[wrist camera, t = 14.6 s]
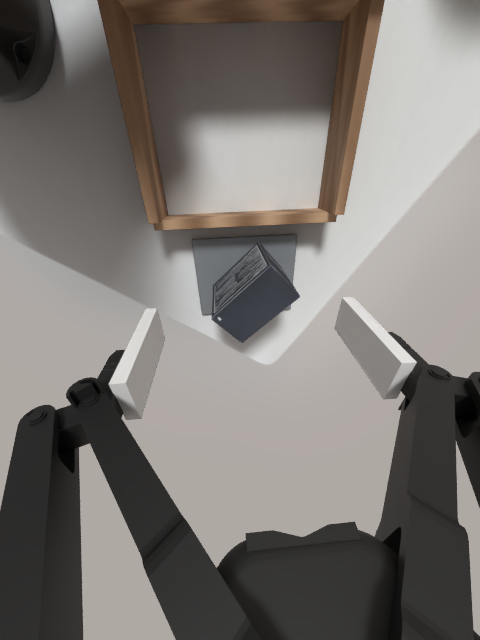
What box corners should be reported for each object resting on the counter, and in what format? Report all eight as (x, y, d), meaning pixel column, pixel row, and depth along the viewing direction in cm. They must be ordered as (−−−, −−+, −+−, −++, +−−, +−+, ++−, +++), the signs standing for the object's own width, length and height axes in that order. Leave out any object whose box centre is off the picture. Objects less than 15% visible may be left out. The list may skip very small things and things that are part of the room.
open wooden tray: (161, 224, 34) (146, 237, 28) (117, 6, 23) (74, -61, 17) (324, 216, 35) (349, 227, 28) (356, 2, 24) (409, -63, 17)
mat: (202, 312, 43) (202, 314, 42) (192, 239, 36) (191, 240, 35) (289, 307, 43) (290, 309, 43) (296, 234, 36) (297, 235, 36)
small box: (238, 309, 42) (242, 346, 33) (211, 285, 39) (207, 319, 30) (284, 269, 39) (302, 298, 30) (258, 240, 36) (270, 263, 27)
